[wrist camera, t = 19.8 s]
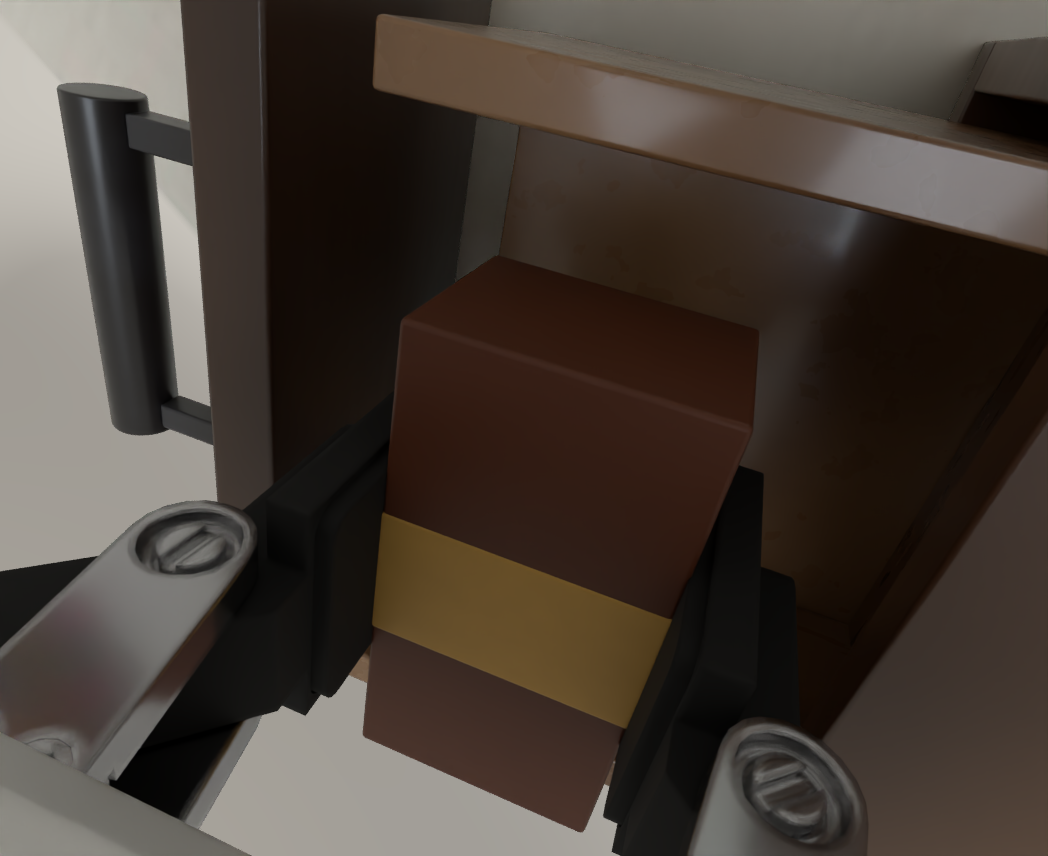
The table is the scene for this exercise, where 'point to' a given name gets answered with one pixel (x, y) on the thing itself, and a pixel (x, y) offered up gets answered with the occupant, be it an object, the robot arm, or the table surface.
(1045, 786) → the cabinet
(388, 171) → the drawer
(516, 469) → the chocolate bar
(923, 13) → the table surface
